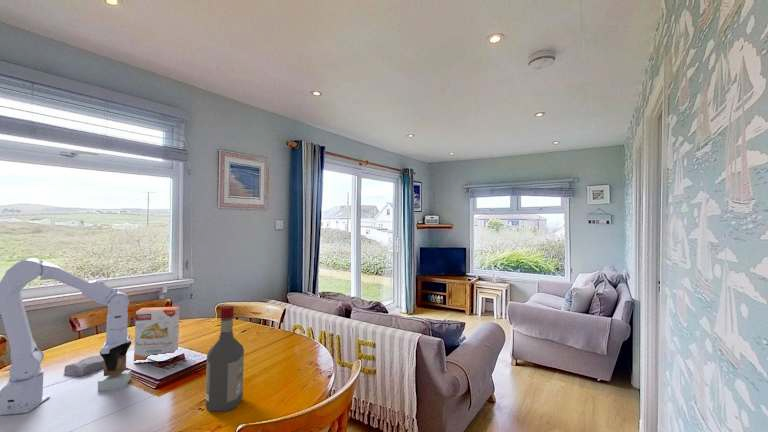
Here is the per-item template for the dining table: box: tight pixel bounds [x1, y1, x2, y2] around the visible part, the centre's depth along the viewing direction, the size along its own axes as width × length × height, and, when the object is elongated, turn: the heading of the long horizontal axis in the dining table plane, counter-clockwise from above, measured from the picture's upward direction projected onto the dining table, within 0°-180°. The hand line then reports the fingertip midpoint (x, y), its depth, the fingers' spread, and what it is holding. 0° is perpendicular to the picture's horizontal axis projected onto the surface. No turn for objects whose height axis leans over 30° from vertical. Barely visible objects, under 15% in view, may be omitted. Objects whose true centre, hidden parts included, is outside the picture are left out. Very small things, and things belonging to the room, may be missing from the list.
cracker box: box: [133, 306, 180, 362], centre depth 138 cm, size 14×6×21 cm, turn 105°
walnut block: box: [103, 354, 127, 376], centre depth 117 cm, size 4×4×5 cm
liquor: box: [204, 305, 245, 413], centre depth 106 cm, size 9×9×30 cm
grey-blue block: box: [97, 369, 132, 392], centre depth 117 cm, size 7×7×4 cm
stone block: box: [63, 354, 104, 377], centre depth 129 cm, size 12×5×10 cm
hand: (115, 367), depth 117 cm, fingers closed on walnut block, 4 cm apart
